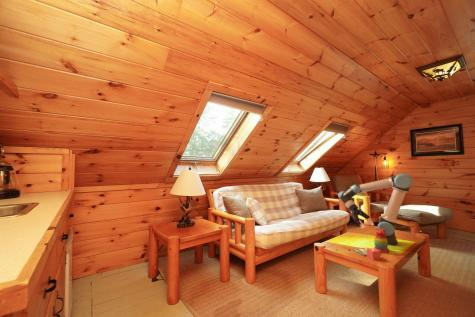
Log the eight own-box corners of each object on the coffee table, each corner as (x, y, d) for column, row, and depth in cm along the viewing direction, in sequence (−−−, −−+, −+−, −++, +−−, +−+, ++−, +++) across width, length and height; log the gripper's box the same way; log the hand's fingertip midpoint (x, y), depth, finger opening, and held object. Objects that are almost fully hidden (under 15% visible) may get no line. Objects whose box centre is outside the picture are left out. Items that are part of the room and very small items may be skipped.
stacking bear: (390, 250, 181) (389, 228, 181) (388, 254, 173) (387, 231, 174) (375, 247, 188) (374, 226, 188) (372, 251, 180) (371, 229, 181)
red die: (373, 256, 170) (373, 248, 170) (380, 259, 164) (379, 250, 165) (366, 256, 169) (366, 248, 169) (373, 259, 163) (372, 251, 164)
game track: (368, 248, 186) (368, 247, 186) (380, 254, 173) (380, 253, 173) (352, 249, 183) (352, 249, 183) (363, 256, 170) (363, 255, 170)
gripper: (357, 207, 211) (373, 226, 198) (340, 210, 199) (356, 231, 185) (362, 202, 207) (379, 221, 193) (345, 205, 195) (362, 226, 181)
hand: (368, 226), depth 189 cm, fingers open, 13 cm apart
